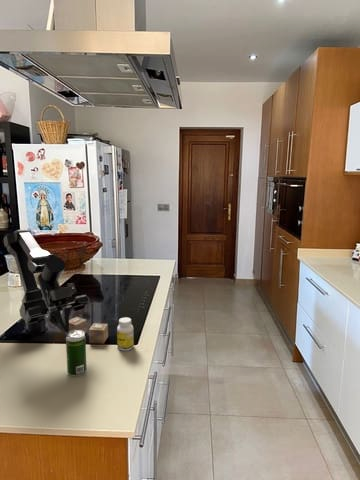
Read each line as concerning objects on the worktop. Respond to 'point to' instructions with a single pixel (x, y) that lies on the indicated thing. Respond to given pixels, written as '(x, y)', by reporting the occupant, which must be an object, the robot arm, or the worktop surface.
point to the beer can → (76, 353)
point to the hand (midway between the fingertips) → (67, 333)
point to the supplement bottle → (125, 334)
